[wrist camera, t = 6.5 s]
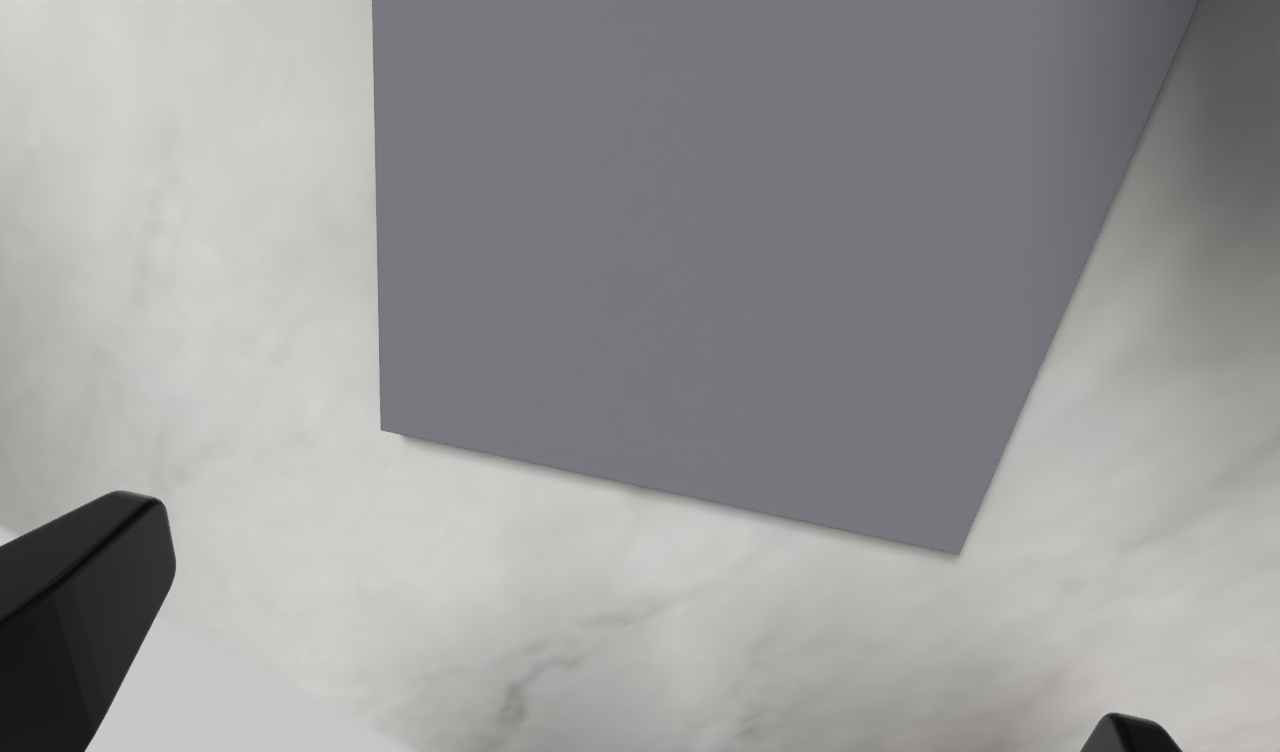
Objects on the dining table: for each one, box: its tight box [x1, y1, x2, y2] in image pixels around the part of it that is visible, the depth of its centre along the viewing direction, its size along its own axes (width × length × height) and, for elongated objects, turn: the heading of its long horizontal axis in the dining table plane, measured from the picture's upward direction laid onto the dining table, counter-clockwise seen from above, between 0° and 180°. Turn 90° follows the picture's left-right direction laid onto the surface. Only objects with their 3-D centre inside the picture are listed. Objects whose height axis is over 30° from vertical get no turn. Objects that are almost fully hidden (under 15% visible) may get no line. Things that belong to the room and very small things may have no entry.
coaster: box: [372, 0, 1198, 554], centre depth 16 cm, size 11×11×1 cm
